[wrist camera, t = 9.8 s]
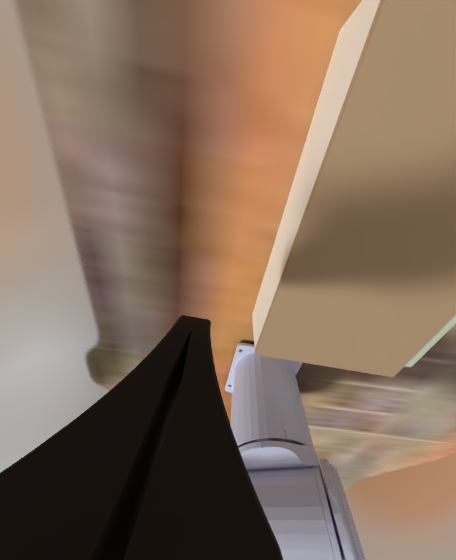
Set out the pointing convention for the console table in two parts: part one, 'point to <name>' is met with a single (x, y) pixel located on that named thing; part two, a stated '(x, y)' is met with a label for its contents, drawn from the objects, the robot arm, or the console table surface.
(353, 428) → the console table surface
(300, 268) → the beige flat box
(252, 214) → the console table surface
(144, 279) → the console table surface
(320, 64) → the console table surface
